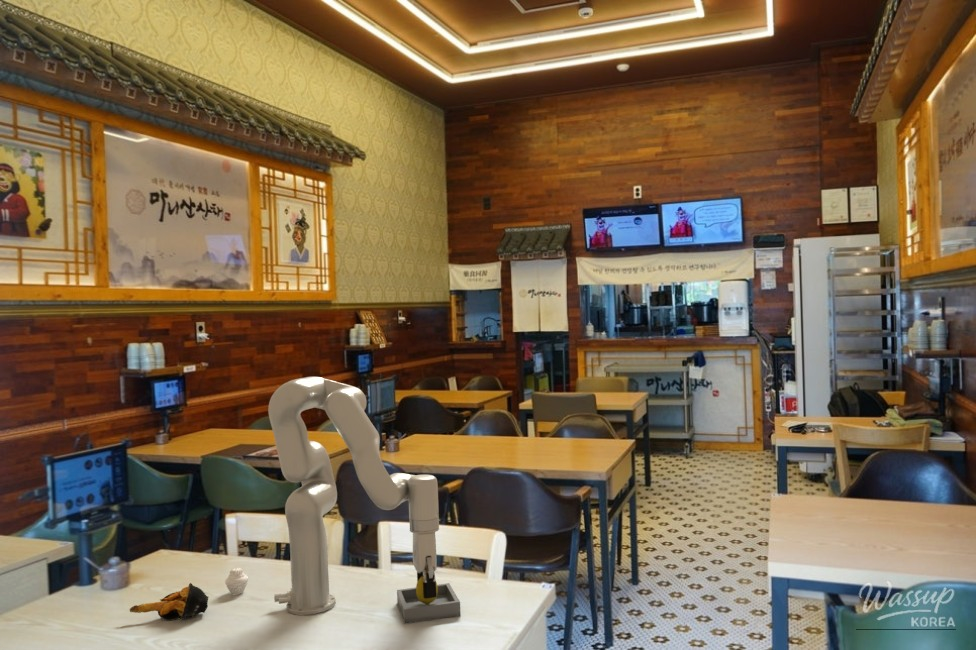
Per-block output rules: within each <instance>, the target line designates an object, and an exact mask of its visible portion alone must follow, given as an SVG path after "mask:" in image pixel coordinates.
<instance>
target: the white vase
mask: <svg viewBox="0 0 976 650" xmlns="http://www.w3.org/2000/svg"><path fill="white" fill-rule="evenodd" d="M224 581H225V582H224V583H225V585H226V587H227V589H228V592H230V594H231V595H233V594H237V595H241V594H243V593H244V592H245V589H246V587H247V585H248V582H249V577H248V575H247V574H245V572H244V570H243V568H240V567H235V568H233V569H231V570H230V571H229V574H228V576H227V578H225V580H224ZM240 593H241V594H240Z"/></svg>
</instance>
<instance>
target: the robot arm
mask: <svg viewBox="0 0 976 650" xmlns="http://www.w3.org/2000/svg"><path fill="white" fill-rule="evenodd" d="M366 397H367V396H366V395H365V393H364V392H363V391H362V390H361V389H360V388H358V387H356V386H353V385H351V384H347V383H343V382H342V383H341V382H338V381H335V380H331V379H327V378H323V377H320V376H306V377H301V378H295V379H291V380H289V381H286V382H284V383H283V384H282V385H280V386H279V387H277V389H276V390H275V391H274V392H273V394H272V395H271V397H270V399H269V403H268V411H267V413H268V417H269V423H270V426H271V429H272V433H273V437H274V443H275V449H276V451H277V456H278V461H279V465H280V469H281V472H282V476H283V477H284V479H286V480H287V481H288V482H290V483H294V484H296V483H297V484H299V483H301V487H298V488H297V489H295V490H293V491H292V493H290V495H289V496H288V498H287V500H286V502H285V506H284V511H285V513H284V514H285V518H286V523H287V528H288V535H289V553H290V554H289V555H290V575H291V576H290V577H291V579H290V580H291V587H290V591H286V593H275V594H274V597H273V598H274V599H273V601H274V603H277V602H278V604H286V606H285V607H286V610H287V612H288V613H290V614H293V615H298V616H306V615H308V616H309V615H316V614H320V613H323V612H326V611H329V610H330V609H332V608H333V607H334V606H336V597H335V596H334V595H332V594H330V581H329V579H330V578H329V577H330V576H329V561H328V556H329V555H328V538H327V537H328V536H327V531H326V527H325V523H324V517H323V516H324V515H326V514H327V513H328V512H330V511H332V510H333V508H334V507H335V505H336V503H337V501H338V491H337V484H336V480H335V477H334V476H335V475H334V471H333V467H332V464H331V458H330V455H329V454H328V451H327V450H326V448H325V447H324V445H322V444H321V443H320V442H318V441H314V440H310V438H309V434H308V430H307V426H306V424H305V422H304V420H303V418H302V415H301V414H302V412H304V411H306V410H309V409H313V408H314V409H315V408H316V409H321V410H323V411H325V413H326V415H327V417H328V418H329V420H330V422H331V423H332V426H334V428H335V429H336V430H337V433H338V434H339V435H340V437H341V439H342V440H343V442H344V444H345V445H346V447H347V448H348V450H349V452H350V454H351V458H352V459H351V460H352V464H353V466H354V470H355V473H356V476H357V478H358V481H359V482H360V484H361V486H362V488H363V489H364V491H365V492H366V494H367V496H368V497H369V499H370V500H371V501H372V503H373V504H374V505H375V506H376V507H377V508H379V509H380V510H383V511H390V510H392V511H393V510H394V509H396V508H397V507H398V506H400V505H401V504H402V503H405V502H406V501H407V502H408V516H409V517H408V518H409V520H408V521H409V533H412V565H413V567H414V569H415V571H416V578H417V580H416V581H417V582H418V580H419V579H420V578H421V577H422V576H423V577H424V582H423V597H424V598H425V599H426V598H434V597H436V583H437V581H436V573H435V572H436V571H437V564H438V563H437V541H436V532H438V531H439V530H440V517H439V516H440V514H439V513H440V512H439V487H438V479H437V477H436V476H434V475H433V474H417V475H415V474H409V473H402V472H394V473H392V474H389V472H388V471H387V469H386V467H385V466H384V463H383V461H382V458H381V455H380V454H381V453H380V444H381V441H380V440H381V438H380V437H381V436H380V434H379V432H378V430H377V429H376V427H375V426H374V425H373V422H371V420H370V418H369V417H368V415H367V413H366V412H365V410H366V408H367V398H366ZM426 574H427V575H426ZM417 582H416V583H417Z"/></svg>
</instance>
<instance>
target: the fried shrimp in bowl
mask: <svg viewBox="0 0 976 650" xmlns="http://www.w3.org/2000/svg"><path fill="white" fill-rule="evenodd" d="M208 601H209V596H208V595H207V594H206V593H205V592H204V591H203V590H202V589H201V588H200V587H197V586H195V585H193V584H192V582H190V583H189V584H188V586H185V587H183V588H181V590H179V591H175V592H172V593H169V594H168V595H166V596H164V597H163V598H161V599H159V601H156V602H155V601H154V602H148V603H147V602H145V603H141V604H139V605H136V604H135V605H133V606H132V607H130V608H129V612H130V613H135V614H136V613H137V614H140V613H149V612H157V614H158V616H159V617H160V619H162V620H164V621H174V620H178V619H179V620H180V621H181V620H183V619H189V618H190V619H192V618H194V617H196V616H198V615H199V614H201V613H206V611H207V608H208V605H209V604H208V603H209V602H208Z"/></svg>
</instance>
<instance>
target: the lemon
mask: <svg viewBox="0 0 976 650" xmlns="http://www.w3.org/2000/svg"><path fill="white" fill-rule="evenodd" d="M426 575H427V574H426ZM423 582H424V577H423V576H422V577H421V578H420V579H419V580H418V582H416V586H415V588H416V595H417V598H418V599H419V601H420V602H422V603H425V604H426V605H429V604H430V603H432V602H433V601H434V600H435V599H436V597H437V592H438V587H437V585H438V583H437V582H436V597H434V598H426V599H425V598H424V597H423Z"/></svg>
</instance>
